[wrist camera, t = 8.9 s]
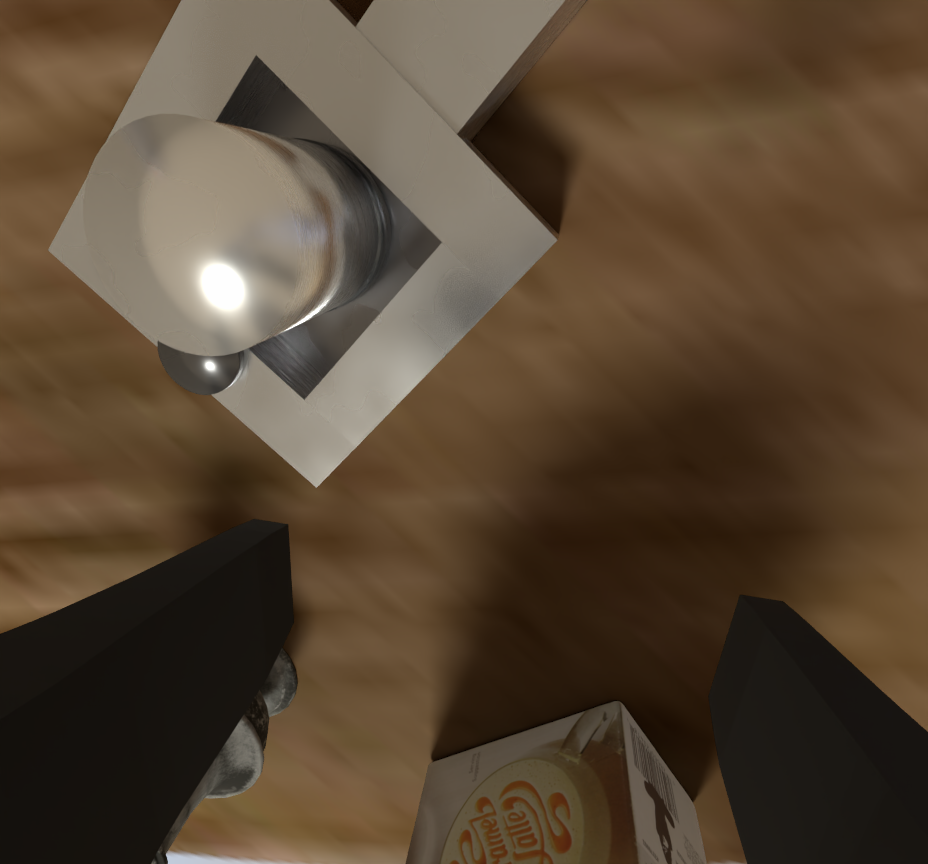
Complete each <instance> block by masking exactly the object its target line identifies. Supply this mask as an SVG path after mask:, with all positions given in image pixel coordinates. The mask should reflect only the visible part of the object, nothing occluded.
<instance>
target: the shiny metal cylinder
mask: <svg viewBox="0 0 928 864" xmlns="http://www.w3.org/2000/svg"><path fill="white" fill-rule="evenodd" d="M83 220H84V229H85V235H86V240H87V245H88V249H89V252H90V255H91V258H92V261H93V264H94V266H95V268H96V271H97V273H98V275H99V277H100V279H101V281H102V283H103V284H104V286H105V288H106V290H107V291H108V293H109V294H110V296H111V297H112V299H113V300H114V301H115V303H116V304H117V305H118V306H119V308H120V309H121V310H122V311H123V312H124V313H125V315H126V316H127V317H128V318H129V319H130V320H131V321H133V322H134V323H135V324H136V325H137V326H138V327H139V328H140V329H142V330H143V331H144V332H146V333H147V334H148V335H150V336H151V337H153V338H155V339H156V340H158V341H159V342H161V343H163V344H165V345H167V346H169V347H172V348H174V349H177V350H180V351H183V352H186V353H190V354H195V355H201V356H223V355H228V354H233V353H237V352H240V351H242V350H245V349H247V348H250V347H252V346H254V345H256V344H258V343H260V342H263V341H265V340H267V339H269V338H271V337H273V336H275V335H278V334H280V333H282V332H284V331H286V330H288V329H290V328H293V327H295V326H297V325H299V324H301V323H303V322H305V321H308V320H310V319H312V318H314V317H316V316H318V315H321V314H323V313H325V312H329V311H332V310H335V309H337V308H340V307H342V306H344V305H346V304H348V303H350V302H352V301H354V300H356V299H358V298H359V297H361V296H362V295H363V294H365V293H366V292H367V291H368V290H369V289H370V288H371V287H372V286H373V285H374V284H375V282H376V281H377V279H378V278H379V277H380V275H381V273H382V271H383V269H384V267H385V264H386V261H387V258H388V254H389V250H390V242H391V224H390V218H389V212H388V209H387V205H386V202H385V199H384V197H383V194H382V192H381V190H380V188H379V187H378V185H377V183H376V181H375V180H374V178H373V177H372V176H371V174H370V173H369V172H368V171H367V170H366V168H365V167H364V166H363V165H362V164H361V163H360V162H358V161H357V160H356V159H355V158H354V157H352V156H351V155H349V154H348V153H346V152H345V151H343V150H341V149H339V148H337V147H335V146H332V145H329V144H325V143H322V142H317V141H313V140H308V139H302V138H289V137H284V136H280V135H275V134H271V133H266V132H261V131H257V130H252V129H248V128H243V127H238V126H234V125H229V124H225V123H220V122H215V121H211V120H206V119H202V118H197V117H192V116H187V115H180V114H157V115H151V116H146V117H143V118H140V119H137V120H135V121H133V122H131V123H129V124H127V125H125V126H124V127H122V128H121V129H119V130H118V131H117V132H116V133H115V134H113V135H112V136H111V137H110V138H109V139H108V141H107V142H106V143H105V144H104V145H103V146H102V148H101V149H100V151H99V153H98V154H97V156H96V158H95V159H94V162H93V164H92V166H91V169H90V171H89V174H88V178H87V182H86V186H85V192H84V200H83Z"/></svg>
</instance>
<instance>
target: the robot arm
mask: <svg viewBox="0 0 928 864" xmlns="http://www.w3.org/2000/svg"><path fill="white" fill-rule="evenodd" d="M293 623H294V615H293V598H292V581H291V564H290V547H289V530H288V524H283V523H276V522H270V521H263V520H257V519H253V520H251V521H248V522H246V523H243V524H241V525H238V526H236V527H234V528H232V529H230V530H228V531H225V532H223V533H221V534H219V535H217V536H215V537H213V538H211V539H209V540H207V541H205V542H203V543H201V544H199V545H197V546H195V547H193V548H191V549H189V550H187V551H185V552H183V553H180V554H178V555H176V556H174V557H172V558H170V559H168V560H166V561H164V562H162V563H160V564H158V565H156V566H154V567H152V568H150V569H148V570H146V571H144V572H142V573H140V574H137V575H135V576H133V577H131V578H129V579H127V580H125V581H123V582H120V583H118V584H116V585H114V586H111V587H109V588H107V589H105V590H103V591H100V592H98V593H96V594H94V595H91V596H89V597H87V598H85V599H82V600H80V601H78V602H76V603H74V604H71V605H69V606H67V607H65V608H62V609H60V610H58V611H56V612H53V613H51V614H49V615H46V616H44V617H41V618H39V619H37V620H34V621H32V622H29V623H27V624H24V625H22V626H19V627H17V628H14V629H12V630H9V631H7V632H4V633H1V634H0V864H151V863H152V861H153V859H154V857H155V856H156V854H157V852H158V850H159V848H160V846H161V844H162V843H163V841H164V839H165V838H166V836H167V834H168V833H169V831H170V829H171V828H172V826H173V824H174V823H175V821H176V819H177V818H178V816H179V814H180V813H181V811H182V809H183V808H184V806H185V805H186V803H187V802H188V800H189V799H190V797H191V796H192V794H193V792H194V791H195V789H196V788H197V786H198V785H199V783H200V782H201V780H202V779H203V777H204V775H205V774H206V772H207V771H208V769H209V768H210V766H211V765H212V763H213V762H214V760H215V759H216V757H217V755H218V754H219V752H220V751H221V749H222V748H223V746H224V745H225V743H226V742H227V740H228V739H229V737H230V735H231V734H232V732H233V731H234V729H235V728H236V726H237V725H238V723H239V722H240V720H241V718H242V717H243V715H244V714H245V712H246V711H247V709H248V708H249V706H250V704H251V703H252V701H253V700H254V698H255V697H256V695H257V693H258V692H259V690H260V689H261V687H262V685H263V684H264V682H265V681H266V679H267V677H268V675H269V673H270V671H271V669H272V667H273V665H274V663H275V661H276V659H277V657H278V655H279V653H280V651H281V649H282V647H283V645H284V643H285V640H286V638H287V636H288V634H289V632H290V630H291V627H292V625H293ZM708 697H709V704H710V711H711V718H712V724H713V731H714V737H715V743H716V749H717V755H718V760H719V766H720V769H721V773H722V777H723V780H724V784H725V787H726V791H727V795H728V798H729V802H730V805H731V809H732V812H733V816H734V819H735V823H736V826H737V830H738V833H739V837H740V840H741V843H742V847H743V850H744V854H745V857H746V861H747V864H928V732H927V731H926V730H925V729H924V728H923V727H921V726H920V725H919V724H918V723H917V722H916V721H915V720H914V719H912V718H911V717H910V716H909V715H908V714H907V713H906V712H905V711H903V710H902V709H901V708H900V707H899V706H898V705H897V704H896V703H895V702H894V701H892V700H891V699H890V698H889V697H888V696H887V695H886V694H885V693H884V692H882V691H881V690H880V689H879V688H878V687H877V686H876V685H875V684H874V683H873V682H872V681H870V680H869V679H868V678H867V677H866V676H865V675H864V674H863V673H862V672H861V671H860V670H858V669H857V668H856V667H855V666H854V665H853V664H852V663H851V662H850V661H849V660H848V659H847V658H846V657H844V656H843V655H842V654H841V653H840V652H839V651H838V650H837V649H836V648H835V647H834V646H833V645H832V644H830V643H829V642H828V641H827V640H826V639H825V638H824V637H823V636H822V635H821V634H820V633H819V632H817V631H816V630H815V629H814V628H813V627H812V626H811V625H810V624H809V623H808V622H806V621H805V620H804V619H803V618H802V617H801V616H800V615H799V614H797V613H796V612H795V611H794V610H793V609H792V608H790V607H789V606H788V605H787V604H786V603H784V602H783V601H777V600H771V599H764V598H758V597H752V596H745V595H740V596H739V599H738V603H737V606H736V609H735V612H734V616H733V619H732V622H731V625H730V628H729V632H728V635H727V638H726V641H725V644H724V648H723V651H722V654H721V657H720V661H719V664H718V667H717V670H716V673H715V677H714V680H713V683H712V686H711V690H710V693H709V696H708Z"/></svg>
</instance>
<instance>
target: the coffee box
mask: <svg viewBox="0 0 928 864" xmlns="http://www.w3.org/2000/svg"><path fill="white" fill-rule="evenodd" d="M406 864H707V862H706V858H705V853H704V848H703V842H702V838H701V833H700V829H699V824H698V819H697V815H696V810H695V807H694V805H693V802H692V801H691V799H690V797H689V796H688V795H687V793H686V792H685V790H684V789H683V788H682V786H681V785H680V783H679V782H678V781H677V779H676V778H675V776H674V775H673V774H672V772H671V771H670V769H669V768H668V767H667V765H666V764H665V763H664V761H663V760H662V758H661V757H660V756H659V754H658V753H657V751H656V750H655V748H654V747H653V745H652V744H651V743H650V741H649V740H648V738H647V737H646V736H645V734H644V733H643V732H642V730H641V729H640V727H639V726H638V725H637V723H636V722H635V720H634V719H633V718H632V716H631V715H630V713H629V712H628V711H627V709H626V708H625V706H624V705H623V704H622V703H621V702H620V701H614V702H611V703H608V704H604V705H601V706H598V707H595V708H592V709H589V710H586V711H584V712H581V713H578V714H575V715H572V716H569V717H566V718H563V719H560V720H557V721H554V722H551V723H548V724H545V725H542V726H539V727H536V728H533V729H530V730H527V731H524V732H521V733H518V734H515V735H512V736H509V737H506V738H503V739H500V740H497V741H494V742H491V743H488V744H485V745H482V746H479V747H476V748H473V749H470V750H467V751H464V752H461V753H458V754H455V755H453V756H450V757H447V758H444V759H441V760H437V761H434V762H432V763H430V764H429V766H428V770H427V773H426V779H425V783H424V787H423V792H422V796H421V800H420V805H419V809H418V814H417V818H416V822H415V826H414V831H413V834H412V839H411V843H410V847H409V851H408V856H407V860H406Z"/></svg>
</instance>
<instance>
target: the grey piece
mask: <svg viewBox="0 0 928 864" xmlns="http://www.w3.org/2000/svg"><path fill="white" fill-rule="evenodd" d="M586 1H587V0H373V2H372V3H371V5H370V6H369V8H368V9H367V11H366V12H365V14H364V15H363V17H362V18H361V20H360V21H359V23H357V21H356V20H355V19H354V18H353V17H352V16H351V15H350V14H349V13H348V12H347V11H346V10H345V9H344V8H343V7H342V6H341V5H340V4H339V3H338V1H337V0H181V2H180V4H179V6H178V8H177V10H176V11H175V13H174V15H173V17H172V19H171V21H170V23H169V25H168V26H167V28H166V30H165V32H164V34H163V36H162V38H161V40H160V41H159V43H158V45H157V47H156V49H155V51H154V53H153V55H152V56H151V58H150V60H149V62H148V64H147V66H146V68H145V70H144V71H143V73H142V75H141V77H140V79H139V81H138V83H137V85H136V86H135V88H134V90H133V92H132V94H131V96H130V98H129V100H128V101H127V103H126V105H125V107H124V109H123V111H122V113H121V115H120V116H119V118H118V120H117V122H116V124H115V126H114V128H113V130H112V131H111V133H110V135H109V137H108V139H109V138H110V137H111V136H112V135H113V134H115V133H116V132H117V131H118V130H119V129H121V128H122V127H124V126H125V125H127V124H129V123H131V122H133V121H135V120H137V119H140V118H143V117H146V116H151V115H157V114H180V115H187V116H192V117H197V118H202V119H206V120H211V121H215V122H220V123H225V124H229V125H234V126H238V127H243V128H248V129H252V130H257V131H261V132H266V133H271V134H275V135H280V136H284V137H289V138H302V139H308V140H313V141H317V142H322V143H325V144H329V145H332V146H335V147H337V148H339V149H341V150H343V151H345V152H346V153H348V154H349V155H351V156H352V157H354V158H355V159H356V160H357V161H358V162H360V163H361V164H362V165H363V166H364V167H365V168H366V170H367V171H368V172H369V173H370V174H371V176H372V177H373V178H374V180H375V181H376V183H377V185H378V187H379V188H380V190H381V192H382V194H383V197H384V199H385V202H386V205H387V209H388V212H389V218H390V224H391V242H390V250H389V254H388V258H387V261H386V264H385V267H384V269H383V271H382V273H381V275H380V277H379V278H378V279H377V281H376V282H375V284H374V285H373V286H372V287H371V288H370V289H369V290H368V291H367V292H366V293H365V294H363V295H362V296H361V297H359V298H358V299H356V300H354V301H352V302H350V303H348V304H346V305H344V306H342V307H340V308H337V309H335V310H332V311H329V312H325V313H323V314H321V315H318V316H316V317H314V318H312V319H310V320H308V321H305V322H303V323H301V324H299V325H297V326H295V327H293V328H290V329H288V330H286V331H284V332H282V333H280V334H278V335H275V336H273V337H271V338H269V339H267V340H265V341H263V342H260V343H258V344H256V345H254V346H252V347H250V348H247V349H245V350H242V351H240V352H237V353H233V354H228V355H223V356H201V355H195V354H190V353H186V352H183V351H180V350H177V349H174V348H172V347H169V346H167V345H165V344H163V343H161V342H159V341H158V340H156V339H155V338H153V337H151V336H150V335H148V334H147V333H146V332H144V331H143V330H142V329H140V328H139V327H138V326H137V325H136V324H135V323H134V322H133V321H131V320H130V319H129V318H128V317H127V316H126V315H125V313H124V312H123V311H122V310H121V309H120V308H119V306H118V305H117V304H116V303H115V301H114V300H113V299H112V297H111V296H110V294H109V293H108V291H107V290H106V288H105V286H104V284H103V283H102V281H101V279H100V277H99V275H98V273H97V271H96V268H95V266H94V264H93V261H92V258H91V255H90V252H89V249H88V245H87V240H86V235H85V229H84V220H83V200H84V192H85V186H86V182H87V178H88V176H87V178H86V180H85V182H84V184H83V186H82V188H81V190H80V191H79V193H78V195H77V197H76V199H75V201H74V203H73V205H72V206H71V208H70V210H69V212H68V214H67V216H66V218H65V220H64V221H63V223H62V225H61V227H60V229H59V231H58V233H57V235H56V236H55V238H54V240H53V242H52V244H51V246H50V248H49V249H48V251H49V252H51V253H52V254H53V255H54V256H55V257H56V258H57V259H58V260H60V261H61V262H62V263H63V264H64V265H65V266H66V267H68V268H69V269H70V270H71V271H72V272H73V273H74V274H75V275H77V276H78V277H79V278H80V279H81V280H82V281H83V282H84V283H86V284H87V285H88V286H89V287H90V288H91V289H92V290H94V291H95V292H96V293H97V294H98V295H99V296H100V297H101V298H103V299H104V300H105V301H106V302H107V303H108V304H109V305H111V306H112V307H113V308H114V309H115V310H116V311H117V312H118V313H120V314H121V315H122V316H123V317H124V318H125V319H126V320H127V321H129V322H130V323H131V324H132V325H133V326H134V327H135V328H137V329H138V330H139V331H140V332H141V333H142V334H143V335H144V336H146V337H147V338H148V339H149V340H150V341H151V342H152V343H153V344H155V345H156V346H157V347H158V353H159V357H160V360H161V362H162V364H163V366H164V368H165V370H166V371H167V373H168V374H169V375H170V377H171V378H172V379H173V380H174V381H175V382H176V383H177V384H179V385H180V386H181V387H183V388H184V389H186V390H188V391H190V392H193V393H196V394H201V395H212V396H213V397H215V398H216V399H217V400H218V401H219V402H220V403H221V404H222V405H224V406H225V407H226V408H227V409H228V410H229V411H230V412H232V413H233V414H234V415H235V416H236V417H237V418H238V419H239V420H241V421H242V422H243V423H244V424H245V425H246V426H247V427H248V428H250V429H251V430H252V431H253V432H254V433H255V434H256V435H258V436H259V437H260V438H261V439H262V440H263V441H264V442H265V443H267V444H268V445H269V446H270V447H271V448H272V449H273V450H274V451H276V452H277V453H278V454H279V455H280V456H281V457H282V458H284V459H285V460H286V461H287V462H288V463H289V464H290V465H291V466H293V467H294V468H295V469H296V470H297V471H298V472H299V473H301V474H302V475H303V476H304V477H305V478H306V479H307V480H308V481H310V482H311V483H312V484H313V485H314V486H315V487H316V488H317V487H318V486H319V485H320V484H321V483H322V482H323V481H324V480H325V479H326V477H327V476H328V475H329V474H330V473H331V472H332V471H333V470H334V469H335V468H336V467H337V466H338V465H339V464H340V463H341V462H342V461H343V460H344V459H345V458H346V457H347V456H348V455H349V454H350V453H351V452H352V451H353V450H354V449H355V448H356V447H357V446H358V445H359V444H360V443H361V441H362V440H363V439H364V438H365V437H366V436H367V435H368V434H369V433H370V432H371V431H372V430H373V429H374V428H375V427H376V426H377V425H378V424H379V423H380V422H381V421H382V420H383V419H384V418H385V417H386V416H387V415H388V414H389V413H390V412H391V411H392V410H393V409H394V408H395V407H396V406H397V404H398V403H399V402H400V401H401V400H402V399H403V398H404V397H405V396H406V395H407V394H408V393H409V392H410V391H411V390H412V389H413V388H414V387H415V386H416V385H417V384H418V383H419V382H420V381H421V380H422V379H423V378H424V377H425V376H426V375H427V374H428V373H429V372H430V371H431V370H432V369H433V367H434V366H435V365H436V364H437V363H438V362H439V361H440V360H441V359H442V358H443V357H444V356H445V355H446V354H447V353H448V352H449V351H450V350H451V349H452V348H453V347H454V346H455V345H456V344H457V343H458V342H459V341H460V340H461V339H462V338H463V337H464V336H465V335H466V334H467V333H468V332H469V330H470V329H471V328H472V327H473V326H474V325H475V324H476V323H477V322H478V321H479V320H480V319H481V318H482V317H483V316H484V315H485V314H486V313H487V312H488V311H489V310H490V309H491V308H492V307H493V306H494V305H495V304H496V303H497V302H498V301H499V300H500V299H501V298H502V297H503V296H504V295H505V293H506V292H507V291H508V290H509V289H510V288H511V287H512V286H513V285H514V284H515V283H516V282H517V281H518V280H519V279H520V278H521V277H522V276H523V275H524V274H525V273H526V272H527V271H528V270H529V269H530V268H531V267H532V266H533V265H534V264H535V263H536V262H537V261H538V260H539V259H540V258H541V256H542V255H543V254H544V253H545V252H546V251H547V250H548V249H549V248H550V247H551V246H552V245H553V244H554V243H555V242H556V241H557V240H558V237H559V234H558V233H557V232H556V231H555V230H554V229H553V228H552V227H551V226H550V225H549V224H548V223H547V222H546V221H545V220H544V218H543V217H542V216H541V215H540V214H539V213H538V212H537V211H536V210H535V209H534V208H533V207H532V206H531V205H530V204H529V203H528V202H527V201H526V200H525V198H524V197H523V196H522V195H521V194H520V193H519V192H518V191H517V190H516V189H515V188H514V187H513V186H512V185H511V184H510V183H509V182H508V181H507V179H506V178H505V177H504V176H503V175H502V174H501V173H500V172H499V171H498V170H497V169H496V168H495V167H494V166H493V165H492V164H491V163H490V162H489V161H488V159H487V158H486V157H485V156H484V155H483V154H482V153H481V152H480V151H479V150H478V149H477V148H476V147H475V146H474V145H473V144H472V143H471V140H472V139H473V138H474V137H475V136H476V134H477V133H478V132H479V131H480V129H481V128H482V127H483V126H484V125H485V123H486V122H487V121H488V120H489V119H490V117H491V116H492V115H493V114H494V113H495V111H496V110H497V109H498V108H499V106H500V105H501V104H502V103H503V102H504V100H505V99H506V98H507V97H508V96H509V94H510V93H511V92H512V91H513V90H514V88H515V87H516V86H517V85H518V83H519V82H520V81H521V80H522V79H523V77H524V76H525V75H526V74H527V73H528V71H529V70H530V69H531V68H532V67H533V65H534V64H535V63H536V62H537V60H538V59H539V58H540V57H541V56H542V54H543V53H544V52H545V51H546V50H547V48H548V47H549V46H550V45H551V44H552V42H553V41H554V40H555V39H556V38H557V36H558V35H559V34H560V33H561V31H562V30H563V29H564V28H565V27H566V25H567V24H568V23H569V22H570V21H571V19H572V18H573V17H574V16H575V15H576V13H577V12H578V11H579V10H580V8H581V7H582V6H583V5H584V4H585V2H586ZM108 139H107V141H108ZM107 141H106V142H107Z"/></svg>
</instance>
